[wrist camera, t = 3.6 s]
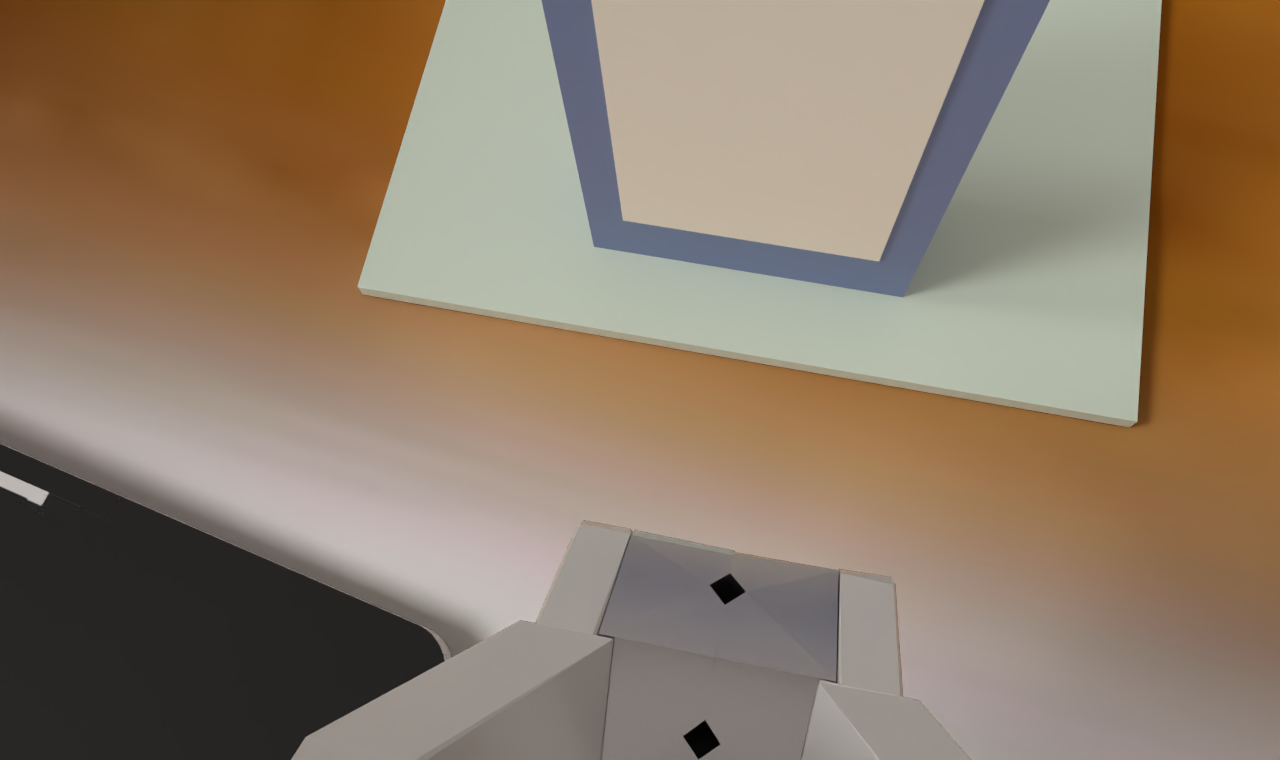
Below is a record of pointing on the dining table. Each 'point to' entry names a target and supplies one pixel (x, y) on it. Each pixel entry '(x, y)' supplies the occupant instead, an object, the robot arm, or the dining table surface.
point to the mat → (792, 309)
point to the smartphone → (171, 634)
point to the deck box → (781, 126)
